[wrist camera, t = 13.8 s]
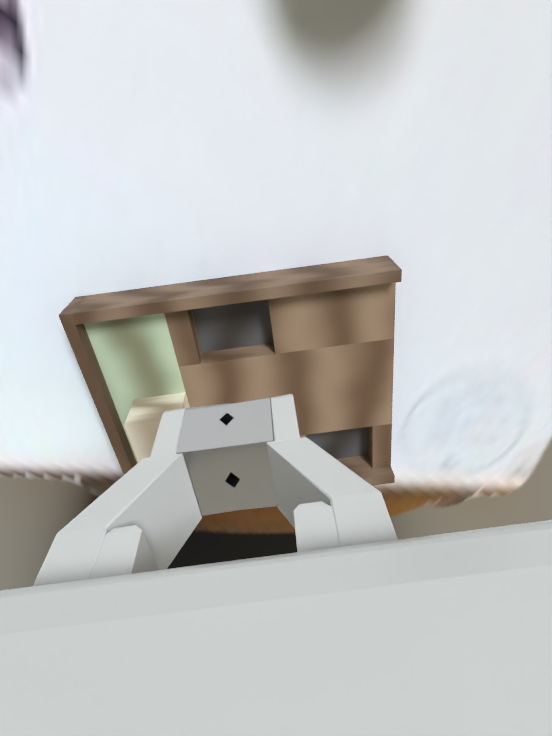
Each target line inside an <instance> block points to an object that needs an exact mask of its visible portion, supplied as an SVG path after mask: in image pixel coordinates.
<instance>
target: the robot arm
mask: <svg viewBox="0 0 552 736" xmlns="http://www.w3.org/2000/svg"><path fill="white" fill-rule="evenodd" d="M272 506H277V507H278V509H279V510H280V511H281V512H282V514H283V515H284V516H285V517H286V518H287V520H288V521H289V522H290V523H291V524H292V526H293V527H294V528H295V531H296V541H297V551H298V553H290V554H282V555H274V556H266V557H258V558H251V559H242V560H234V561H227V562H220V563H211V564H204V565H196V566H188V567H180V568H173V569H167V568H168V566H169V565H170V563H171V562H172V560H173V559H174V558H175V556H176V555H177V553H178V552H179V550H180V549H181V548H182V546H183V545H184V543H185V542H186V540H187V539H188V537H189V536H190V534H191V533H192V532H193V530H194V529H195V527H196V526H197V524H198V523H199V521H200V520H201V519H202V516H203V515H210V514H216V513H222V512H229V511H235V510H243V509H253V508H263V507H272ZM0 736H552V520H548V521H540V522H533V523H526V524H518V525H509V526H502V527H493V528H486V529H478V530H471V531H463V532H455V533H447V534H441V535H432V536H425V537H417V538H410V539H402V540H398V539H397V536H396V534H395V531H394V528H393V525H392V523H391V520H390V517H389V514H388V511H387V508H386V505H385V502H384V500H383V497H382V494H381V492H380V491H378V490H377V489H376V488H374V487H373V486H372V485H370V484H369V483H368V482H366V481H365V480H363V479H362V478H361V477H359V476H358V475H357V474H355V473H354V472H353V471H351V470H350V469H349V468H347V467H346V466H345V465H343V464H342V463H341V462H339V461H338V460H337V459H335V458H334V457H332V456H331V455H330V454H328V453H327V452H326V451H324V450H323V449H322V448H320V447H319V446H318V445H316V444H315V443H314V442H312V441H311V440H310V439H308V438H307V437H303V438H300V435H299V429H298V422H297V416H296V410H295V404H294V398H293V395H292V394H288V395H282V396H276V397H271V398H265V399H258V400H252V401H245V402H238V403H232V404H229V403H227V404H218V405H209V406H200V407H191V408H187V409H186V408H182V409H175V410H167V411H165V412H164V413H163V414H162V417H161V420H160V424H159V427H158V431H157V434H156V438H155V441H154V445H153V448H152V452H151V455H150V457H149V458H143V459H142V460H141V461H140V462H139V463H137V464H136V465H135V466H134V467H133V468H132V469H131V470H129V471H128V472H127V473H126V474H125V475H124V476H123V477H121V478H120V479H119V480H118V481H117V482H116V483H114V484H113V485H112V486H111V487H110V488H109V489H108V490H106V491H105V492H104V493H103V494H102V495H101V496H99V497H98V498H97V499H96V500H95V501H94V502H93V503H91V504H90V505H89V506H88V507H87V508H86V509H84V510H83V511H82V512H81V513H80V514H79V515H78V516H76V517H75V518H74V519H73V520H72V521H71V522H70V523H68V524H67V525H66V526H65V527H64V528H63V529H62V530H60V531H59V532H58V533H57V534H56V536H55V539H54V541H53V543H52V545H51V547H50V550H49V552H48V554H47V556H46V558H45V560H44V563H43V565H42V567H41V569H40V571H39V574H38V576H37V578H36V580H35V582H34V584H33V586H32V587H24V588H16V589H8V590H1V591H0Z"/></svg>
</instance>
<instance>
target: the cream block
mask: <svg viewBox="0 0 552 736" xmlns="http://www.w3.org/2000/svg"><path fill="white" fill-rule="evenodd" d="M182 408H186V409H187V408H190V407H189V403H188V400H187V396H186V392H185V393H177V394H170V395H163V396H155V397H148V398H140V399H134V400H133V403H132V406H131V408H130V411H129V413H128V416H127V418H126V421H125V423H124V427H125V430H126V433H127V435H128V438H129V440H130V443H131V445H132V448H133V451H134V453H135V456H136V458H137V461H138V463H139V462H140V461H141V460H142V459H143V458H149V457H150V455H151V452H152V448H153V445H154V441H155V438H156V434H157V431H158V427H159V424H160V420H161V417H162V414H163V413H164V412H165V411H167V410H175V409H182Z"/></svg>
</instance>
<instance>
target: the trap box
mask: <svg viewBox="0 0 552 736" xmlns="http://www.w3.org/2000/svg"><path fill="white" fill-rule="evenodd" d="M401 272H402V270H401V269H400V268H399V267H398V266H397V265H396V264H395V263H394V262H393V261H392V260H391V259H390V258H389V257H388V256H381V257H374V258H366V259H359V260H351V261H344V262H336V263H329V264H321V265H314V266H306V267H299V268H291V269H284V270H276V271H269V272H261V273H254V274H246V275H239V276H231V277H224V278H216V279H209V280H201V281H194V282H186V283H179V284H171V285H164V286H156V287H149V288H141V289H134V290H126V291H119V292H111V293H104V294H96V295H89V296H81V297H75V298H74V299H73V300H72V302H71V303H70V304H69V305H68V306H67V307H66V308H65V309H64V310H63V311H62V312H61V313H60V314H59V318H60V320H61V322H62V325H63V327H64V330H65V332H66V335H67V337H68V339H69V342H70V344H71V347H72V349H73V352H74V354H75V356H76V359H77V361H78V364H79V366H80V369H81V371H82V373H83V376H84V378H85V381H86V383H87V386H88V388H89V391H90V393H91V395H92V398H93V400H94V403H95V405H96V408H97V410H98V412H99V415H100V417H101V420H102V422H103V425H104V427H105V429H106V432H107V434H108V437H109V439H110V442H111V444H112V447H113V449H114V451H115V454H116V456H117V459H118V461H119V464H120V466H121V468H122V471H123V473H124V475H125V474H126V473H127V472H128V471H129V470H131V469H132V468H133V467H134V466H135V465H136V464H137V463H138V461H137V458H136V456H135V453H134V451H133V448H132V445H131V443H130V440H129V438H128V435H127V433H126V430H125V427H124V423H125V421H126V418H127V416H128V413H129V411H130V408H131V406H132V403H133V400H134V399H140V398H148V397H155V396H163V395H170V394H177V393H185V392H186V396H187V400H188V403H189V407H190V408H191V407H200V406H209V405H218V404H227V403H229V404H232V403H238V402H245V401H252V400H258V399H265V398H271V397H276V396H282V395H288V394H292V395H293V398H294V404H295V410H296V416H297V422H298V429H299V435H300V438H303V437H307V438H308V439H310V440H311V441H312V442H314V443H315V444H316V445H318V446H319V447H320V448H322V449H323V450H324V451H326V452H327V453H328V454H330V455H331V456H332V457H334V458H335V459H337V460H338V461H339V462H341V463H342V464H343V465H345V466H346V467H347V468H349V469H350V470H351V471H353V472H354V473H355V474H357V475H358V476H359V477H361V478H362V479H363V480H365V481H366V482H368V483H369V484H370V485H379V484H387V483H394V473H393V471H392V469H391V430H392V393H393V357H394V320H395V283H396V282H401Z"/></svg>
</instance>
